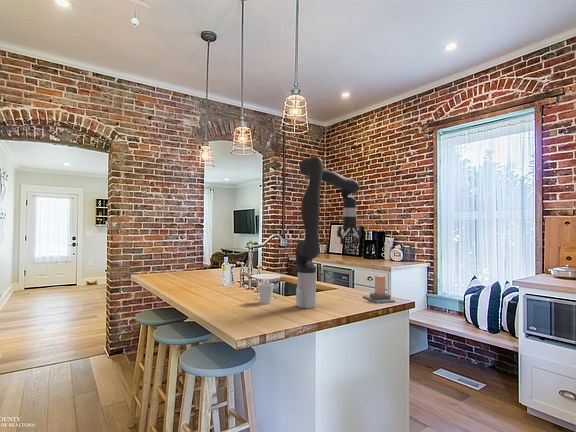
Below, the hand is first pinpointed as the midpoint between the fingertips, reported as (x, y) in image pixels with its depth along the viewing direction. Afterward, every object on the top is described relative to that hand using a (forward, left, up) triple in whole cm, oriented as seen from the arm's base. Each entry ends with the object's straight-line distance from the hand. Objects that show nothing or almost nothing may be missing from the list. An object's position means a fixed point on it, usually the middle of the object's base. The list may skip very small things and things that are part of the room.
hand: (349, 244), depth 188 cm
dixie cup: (-48, +1, -30) cm, 57 cm away
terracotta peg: (+15, -7, -29) cm, 34 cm away
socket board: (+14, -7, -30) cm, 34 cm away
